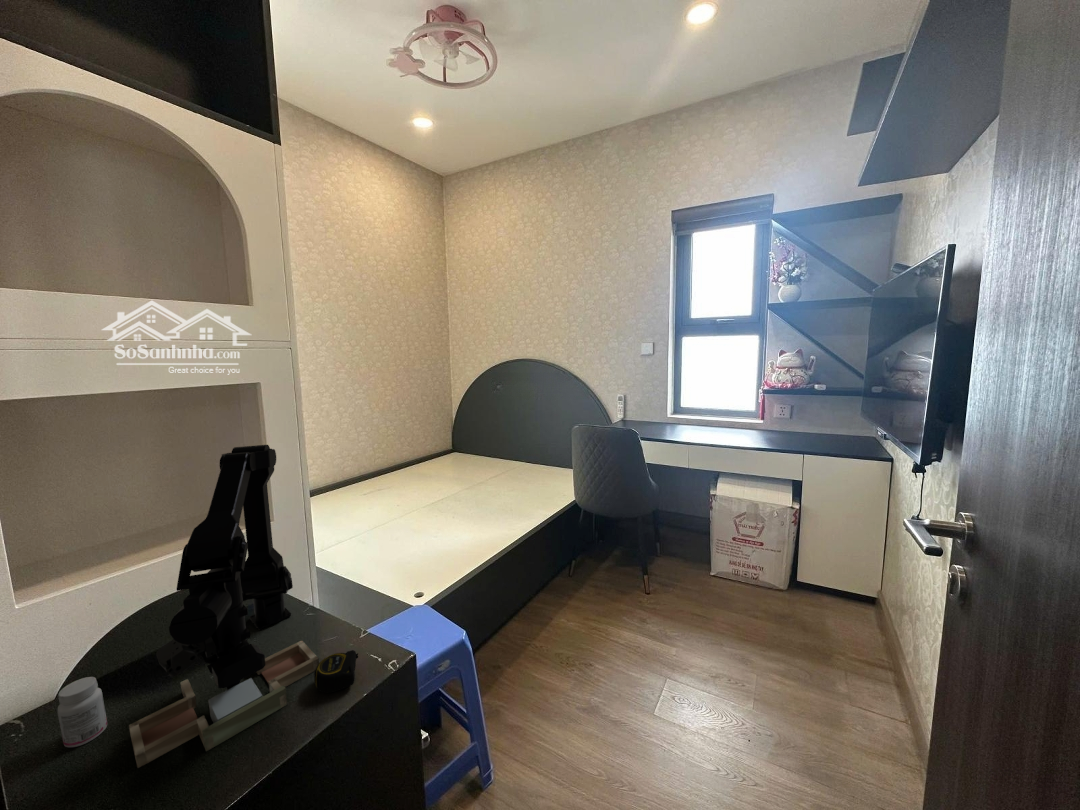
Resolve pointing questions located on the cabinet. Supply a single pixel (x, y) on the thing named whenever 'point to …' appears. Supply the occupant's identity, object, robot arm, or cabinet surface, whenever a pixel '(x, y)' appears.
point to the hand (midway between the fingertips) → (232, 691)
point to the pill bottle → (81, 712)
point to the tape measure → (336, 672)
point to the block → (233, 700)
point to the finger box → (182, 723)
